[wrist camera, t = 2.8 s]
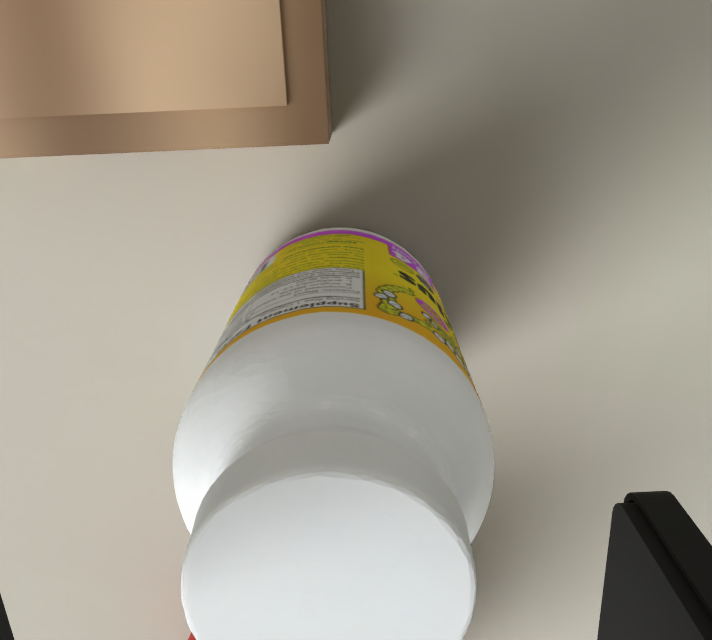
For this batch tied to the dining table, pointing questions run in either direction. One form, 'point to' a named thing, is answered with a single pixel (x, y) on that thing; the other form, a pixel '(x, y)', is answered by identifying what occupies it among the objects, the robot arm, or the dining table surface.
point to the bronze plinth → (161, 75)
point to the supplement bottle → (333, 455)
